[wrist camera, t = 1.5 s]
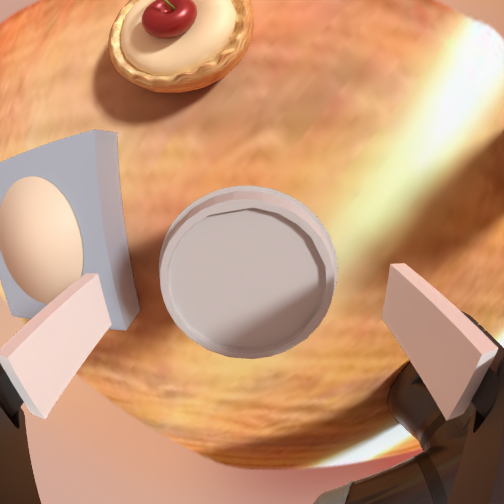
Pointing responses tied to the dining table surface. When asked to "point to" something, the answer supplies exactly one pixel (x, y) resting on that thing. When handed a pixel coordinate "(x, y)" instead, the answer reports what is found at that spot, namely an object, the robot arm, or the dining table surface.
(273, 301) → the disposable coffee cup
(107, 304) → the serving stand
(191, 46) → the pastry
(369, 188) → the dining table surface
